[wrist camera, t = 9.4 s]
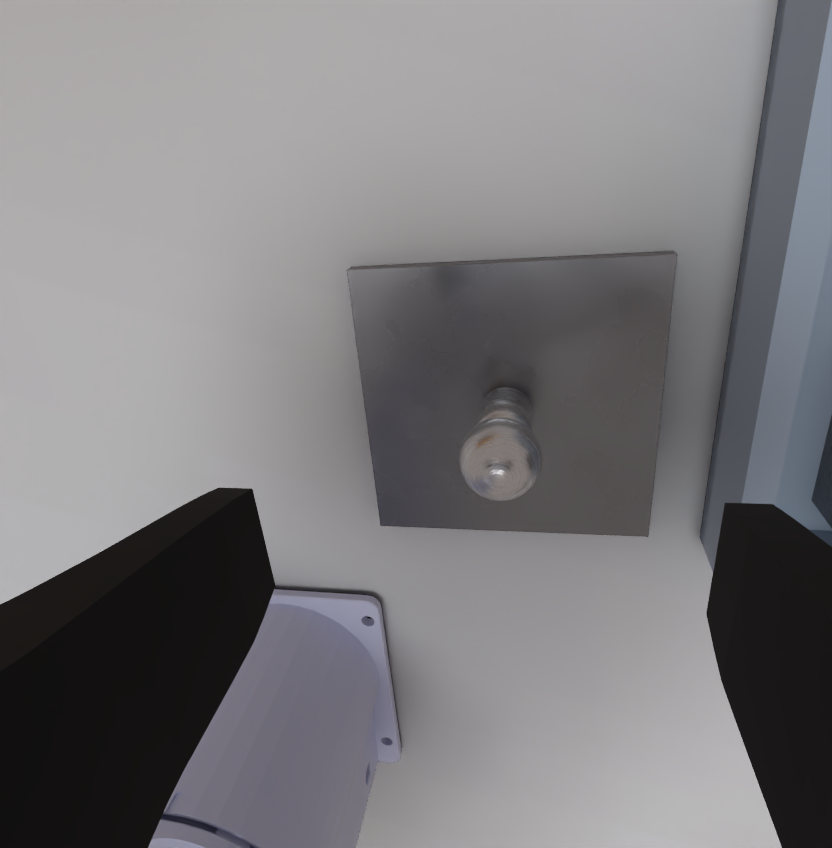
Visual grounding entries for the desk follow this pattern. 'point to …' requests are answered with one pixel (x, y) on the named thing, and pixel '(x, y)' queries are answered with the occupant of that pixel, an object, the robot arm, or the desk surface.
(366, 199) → the desk surface
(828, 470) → the strut
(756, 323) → the tray
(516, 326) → the stud plate
